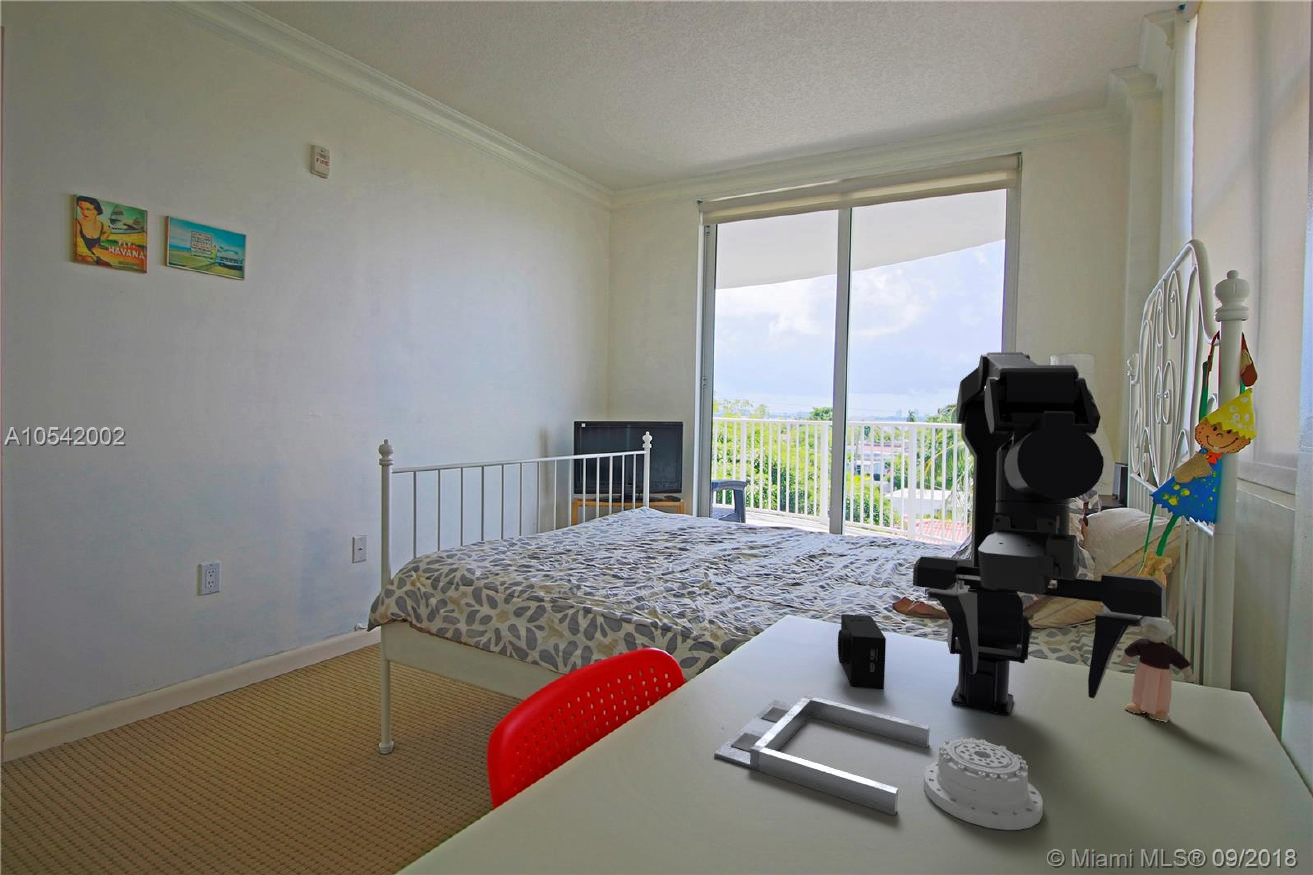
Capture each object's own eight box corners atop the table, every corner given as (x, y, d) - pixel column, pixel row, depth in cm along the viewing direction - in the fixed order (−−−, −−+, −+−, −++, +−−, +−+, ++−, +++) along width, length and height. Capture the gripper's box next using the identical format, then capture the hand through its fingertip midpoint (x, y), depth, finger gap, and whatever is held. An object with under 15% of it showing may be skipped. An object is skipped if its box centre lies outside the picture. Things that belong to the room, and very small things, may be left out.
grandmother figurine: (1112, 710, 83) (1117, 609, 83) (1118, 701, 86) (1122, 603, 86) (1191, 731, 78) (1196, 623, 77) (1194, 721, 81) (1200, 617, 80)
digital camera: (831, 659, 99) (833, 612, 99) (869, 662, 98) (871, 614, 98) (841, 687, 88) (843, 634, 88) (884, 690, 88) (885, 637, 88)
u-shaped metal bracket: (774, 703, 83) (774, 687, 83) (928, 744, 73) (929, 726, 73) (714, 756, 69) (714, 737, 69) (894, 815, 60) (895, 793, 59)
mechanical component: (935, 824, 59) (1059, 841, 57) (937, 775, 59) (1062, 790, 57) (915, 767, 69) (1021, 780, 67) (916, 724, 68) (1022, 736, 66)
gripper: (894, 493, 59) (887, 674, 58) (1155, 505, 47) (1156, 733, 46) (934, 500, 68) (930, 658, 66) (1165, 511, 56) (1166, 705, 54)
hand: (1029, 684), depth 58 cm, fingers open, 9 cm apart
